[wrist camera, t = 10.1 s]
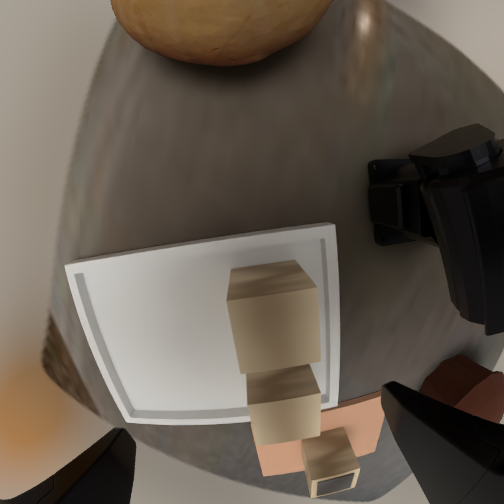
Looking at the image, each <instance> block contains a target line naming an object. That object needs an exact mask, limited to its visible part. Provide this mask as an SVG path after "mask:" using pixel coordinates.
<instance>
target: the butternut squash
mask: <svg viewBox="0 0 504 504" xmlns="http://www.w3.org/2000/svg"><path fill="white" fill-rule="evenodd" d="M332 1H333V0H111V5H112V9H113V11H114V14H115V16H116V18H117V20H118V21H119V23H120V25H121V26H122V27H123V28H124V29H125V31H126V32H127V33H128V34H129V35H130V36H131V37H132V38H133V39H134V40H135V41H137V42H138V43H139V44H141V45H142V46H144V47H145V48H146V49H148V50H151V51H153V52H155V53H158V54H160V55H162V56H165V57H168V58H171V59H175V60H179V61H183V62H187V63H194V64H204V65H212V66H239V65H245V64H251V63H254V62H258V61H260V60H263V59H264V58H266V57H267V56H269V55H270V54H272V53H274V52H276V51H278V50H280V49H282V48H285V47H287V46H289V45H291V44H292V43H294V42H296V41H298V40H300V39H302V38H304V37H305V36H306V35H307V34H309V33H310V32H311V31H312V29H313V28H314V27H315V26H316V25H317V24H318V23H319V21H320V20H321V18H322V17H323V16H324V14H325V13H326V11H327V10H328V8H329V6H330V5H331V3H332Z"/></svg>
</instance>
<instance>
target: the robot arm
mask: <svg viewBox="0 0 504 504" xmlns="http://www.w3.org/2000/svg"><path fill="white" fill-rule="evenodd" d="M409 157H410V159H387V160H372V161H370V162H369V164H368V168H369V176H370V185H371V186H370V187H369V194H370V204H371V216H372V221H373V222H374V232H375V242H376V243H377V244H378V245H380V246H386V245H392V244H398V243H404V242H411V241H420V242H423V243H427V244H430V245H433V246H436V247H439V249H440V252H441V256H442V260H443V264H444V268H445V273H446V277H447V282H448V287H449V292H450V297H451V301H452V303H453V304H454V305H455V307H456V308H457V310H459V311H460V316H461V317H462V318H464V319H466V320H468V321H470V322H474V323H478V324H483V325H485V335H487V336H489V335H494V334H498V333H502V332H504V139H501V140H497V137H496V135H495V133H494V132H492V131H491V130H489V129H487V128H485V127H484V126H482V125H480V124H478V123H477V124H473V125H469V126H466V127H463V128H459V129H456V130H453V131H451V132H449V133H447V134H445V135H443V136H441V137H439V138H437V139H436V140H434V141H432V142H430V143H428V144H426V145H424V146H422V147H421V148H419V149H417V150H415V151H413V152H411V153H410V154H409ZM374 164H376V166H377V169H374V167H373V165H374ZM382 236H383V241H382V242H380V238H381V237H382ZM381 407H382V409H383V411H384V414H385V416H386V419H387V421H388V424H389V426H390V429H391V431H392V434H393V436H394V439H395V441H396V443H397V445H398V446H399V448H400V450H401V452H402V453H403V455H404V457H405V459H406V461H407V462H408V464H409V466H410V468H411V470H412V472H413V473H414V475H415V477H416V479H417V481H418V482H419V484H420V486H421V488H422V490H423V492H424V494H425V495H426V497H427V499H428V501H429V503H430V504H504V424H500V423H496V422H492V421H489V420H486V419H483V418H481V417H478V416H475V415H472V414H470V413H467V412H465V411H462V410H460V409H457V408H455V407H453V406H450V405H448V404H445V403H443V402H440V401H438V400H436V399H433V398H431V397H429V396H427V395H424V394H422V393H420V392H417V391H415V390H413V389H411V388H408V387H406V386H404V385H402V384H400V383H398V382H395V381H391V382H388V383H386V384H384V385H382V389H381ZM135 456H136V443H135V441H134V439H133V438H132V436H131V435H130V434H129V432H128V431H127V430H126V429H125V428H120V427H115V428H113V429H112V430H111V431H109V432H108V433H107V434H106V435H105V436H103V437H102V438H101V439H99V440H98V441H97V442H96V443H94V444H93V445H92V446H91V447H90V448H88V449H87V450H85V451H84V452H83V453H81V454H80V455H79V456H77V457H76V458H75V459H74V460H72V461H71V462H70V463H68V464H67V465H65V466H64V467H63V468H61V469H60V470H59V471H57V472H56V473H55V474H54V475H52V476H50V477H49V478H48V479H46V480H45V481H43V482H42V483H40V484H38V485H37V486H35V487H33V488H32V489H30V490H28V491H26V492H24V493H22V494H20V495H18V496H17V497H14V498H12V499H8V500H0V504H130V498H131V493H132V487H133V481H134V470H135Z"/></svg>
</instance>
